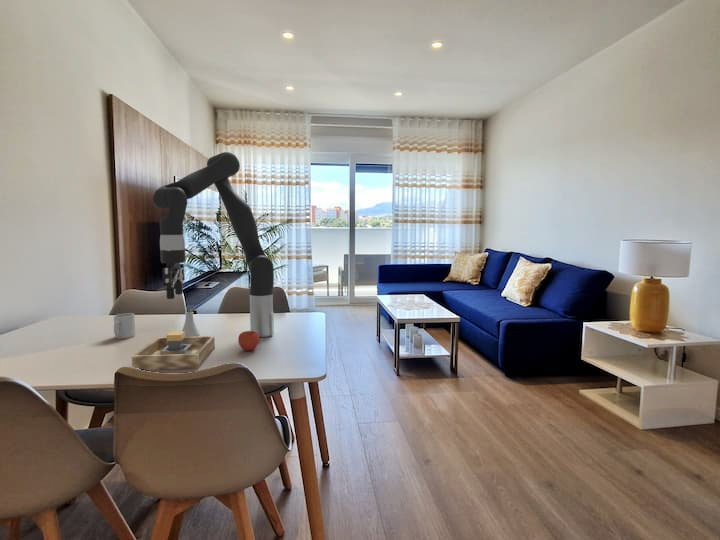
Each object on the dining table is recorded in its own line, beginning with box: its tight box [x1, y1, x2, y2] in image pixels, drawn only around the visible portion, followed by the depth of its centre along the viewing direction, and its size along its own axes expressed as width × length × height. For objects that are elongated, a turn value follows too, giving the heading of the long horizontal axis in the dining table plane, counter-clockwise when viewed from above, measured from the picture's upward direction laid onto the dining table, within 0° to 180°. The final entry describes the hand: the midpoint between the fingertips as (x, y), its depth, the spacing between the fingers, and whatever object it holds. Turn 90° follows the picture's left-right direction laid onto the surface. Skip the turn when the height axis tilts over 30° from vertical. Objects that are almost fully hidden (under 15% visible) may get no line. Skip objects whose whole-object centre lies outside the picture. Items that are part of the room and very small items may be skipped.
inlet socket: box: [160, 344, 193, 355], centre depth 141 cm, size 8×8×3 cm
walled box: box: [131, 335, 216, 371], centre depth 141 cm, size 20×22×4 cm
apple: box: [237, 329, 260, 352], centre depth 151 cm, size 7×7×8 cm
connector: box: [166, 330, 185, 350], centre depth 141 cm, size 5×5×8 cm
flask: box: [181, 311, 201, 337], centre depth 168 cm, size 7×7×10 cm
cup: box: [113, 312, 136, 340], centre depth 166 cm, size 7×10×9 cm
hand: (175, 296), depth 139 cm, fingers open, 8 cm apart
